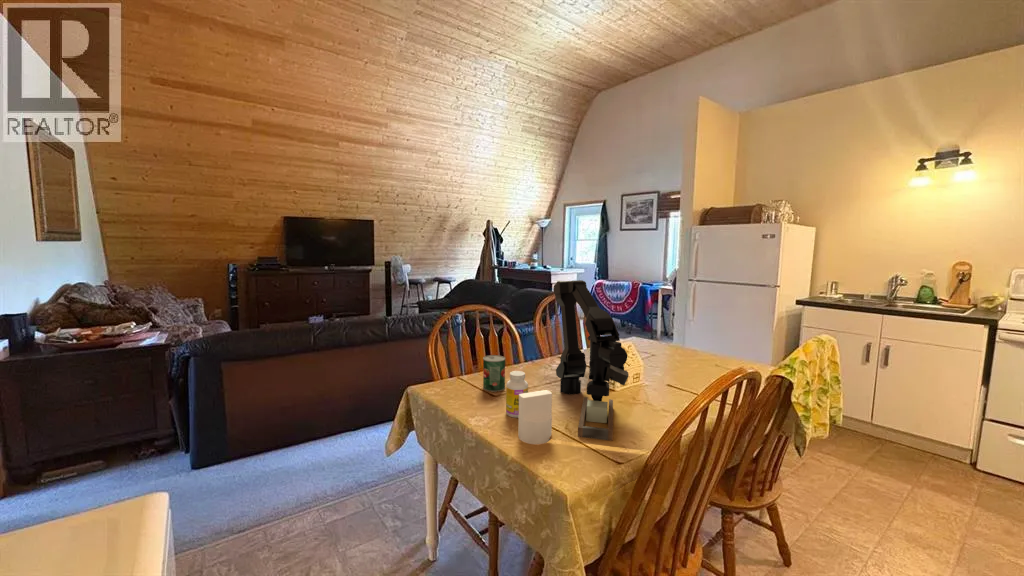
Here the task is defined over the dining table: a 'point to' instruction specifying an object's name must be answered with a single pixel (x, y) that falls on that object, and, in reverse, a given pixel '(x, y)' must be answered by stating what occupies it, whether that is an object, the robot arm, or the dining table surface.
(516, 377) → the supplement bottle
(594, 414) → the block
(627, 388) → the dining table surface
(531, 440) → the cylinder with rectangular tab
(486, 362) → the canned tomato
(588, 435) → the chute
